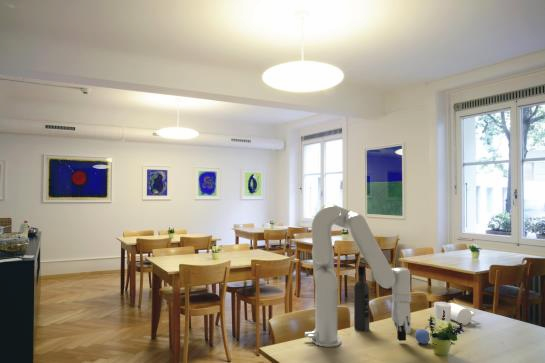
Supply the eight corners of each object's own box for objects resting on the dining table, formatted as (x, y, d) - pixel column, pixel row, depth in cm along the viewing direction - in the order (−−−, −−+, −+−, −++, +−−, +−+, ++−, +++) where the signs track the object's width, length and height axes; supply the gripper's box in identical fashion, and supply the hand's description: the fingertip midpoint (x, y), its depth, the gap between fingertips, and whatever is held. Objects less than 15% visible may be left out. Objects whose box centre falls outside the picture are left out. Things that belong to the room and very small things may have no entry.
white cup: (444, 328, 182) (443, 307, 182) (430, 323, 189) (430, 303, 189) (455, 325, 186) (454, 304, 186) (441, 320, 193) (441, 300, 193)
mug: (458, 325, 186) (457, 309, 186) (444, 319, 196) (444, 303, 196) (479, 323, 188) (478, 307, 189) (465, 317, 198) (464, 302, 198)
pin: (406, 333, 174) (406, 314, 175) (404, 331, 177) (404, 313, 177) (411, 333, 175) (411, 314, 175) (409, 331, 177) (409, 313, 177)
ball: (435, 337, 160) (427, 349, 161) (429, 331, 166) (421, 342, 167) (423, 330, 160) (415, 342, 160) (418, 323, 166) (410, 335, 166)
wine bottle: (370, 329, 181) (369, 265, 182) (364, 332, 176) (363, 267, 177) (359, 326, 184) (359, 264, 185) (353, 329, 180) (353, 265, 181)
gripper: (386, 292, 171) (386, 333, 171) (399, 302, 156) (400, 347, 156) (402, 292, 172) (403, 333, 171) (417, 301, 157) (417, 346, 156)
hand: (401, 339), depth 163 cm, fingers closed
